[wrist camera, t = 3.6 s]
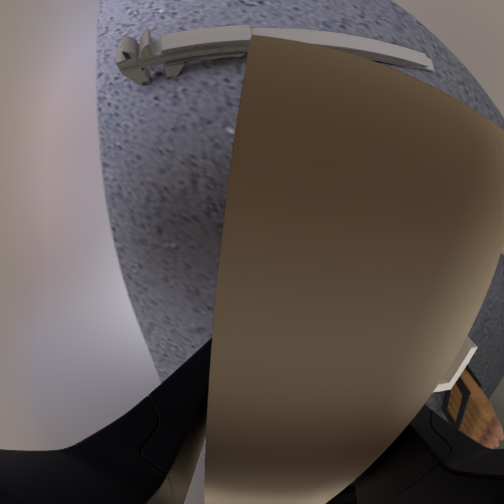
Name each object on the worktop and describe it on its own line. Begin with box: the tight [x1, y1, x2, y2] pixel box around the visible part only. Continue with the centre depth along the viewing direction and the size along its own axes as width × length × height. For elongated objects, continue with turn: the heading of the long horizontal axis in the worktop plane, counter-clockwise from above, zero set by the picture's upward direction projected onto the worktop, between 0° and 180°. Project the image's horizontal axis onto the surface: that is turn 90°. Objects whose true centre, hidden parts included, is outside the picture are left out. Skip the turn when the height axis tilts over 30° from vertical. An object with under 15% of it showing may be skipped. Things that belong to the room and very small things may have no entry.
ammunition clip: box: [442, 365, 504, 449], centre depth 17 cm, size 11×2×12 cm, turn 24°
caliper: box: [116, 25, 434, 85], centre depth 11 cm, size 20×1×6 cm, turn 97°
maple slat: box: [204, 35, 504, 504], centre depth 7 cm, size 14×4×5 cm, turn 172°
